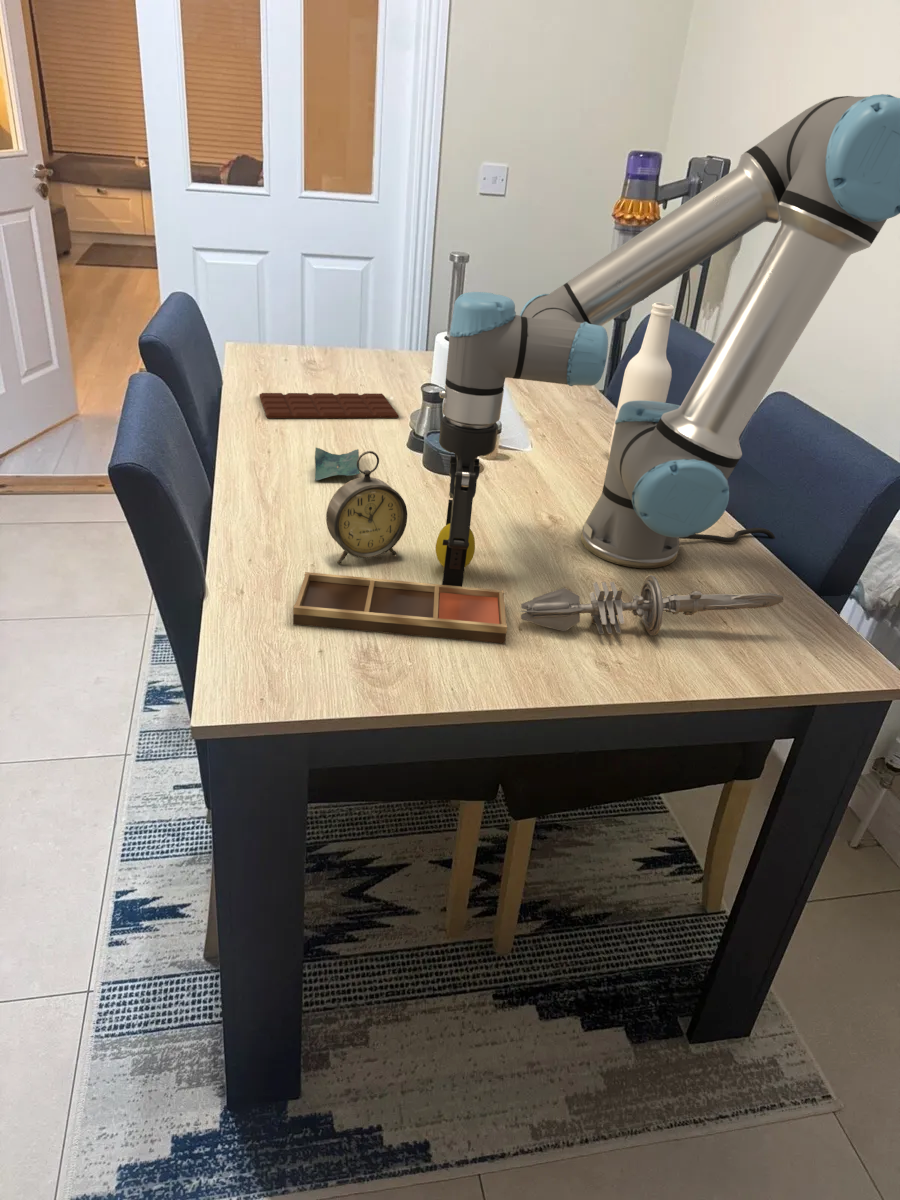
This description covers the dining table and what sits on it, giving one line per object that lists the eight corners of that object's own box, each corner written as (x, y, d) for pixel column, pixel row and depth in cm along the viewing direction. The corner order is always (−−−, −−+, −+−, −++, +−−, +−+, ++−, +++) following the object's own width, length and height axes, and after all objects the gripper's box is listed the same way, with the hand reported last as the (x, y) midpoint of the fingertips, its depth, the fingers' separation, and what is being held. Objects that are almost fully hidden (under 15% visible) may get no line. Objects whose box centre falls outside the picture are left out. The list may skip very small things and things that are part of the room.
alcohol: (603, 461, 167) (635, 304, 152) (612, 448, 174) (644, 296, 159) (647, 471, 164) (684, 312, 149) (654, 457, 172) (691, 305, 156)
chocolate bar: (383, 397, 188) (383, 392, 187) (398, 417, 177) (398, 413, 176) (259, 396, 179) (259, 392, 179) (267, 418, 168) (267, 413, 168)
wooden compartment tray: (501, 606, 114) (504, 590, 113) (504, 643, 106) (507, 627, 105) (304, 588, 113) (305, 571, 112) (293, 624, 105) (293, 607, 104)
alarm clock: (334, 570, 118) (338, 461, 110) (321, 553, 122) (323, 447, 114) (405, 560, 123) (414, 454, 115) (390, 543, 127) (397, 440, 119)
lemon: (467, 584, 119) (474, 533, 115) (429, 577, 119) (434, 526, 115) (474, 566, 123) (481, 517, 119) (437, 559, 124) (443, 510, 120)
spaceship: (803, 605, 106) (783, 556, 111) (528, 618, 104) (520, 568, 109) (781, 640, 113) (764, 593, 118) (522, 654, 110) (514, 605, 115)
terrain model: (360, 483, 145) (360, 473, 144) (314, 483, 144) (313, 472, 143) (358, 456, 156) (358, 446, 155) (315, 455, 155) (315, 446, 154)
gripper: (443, 388, 121) (429, 522, 131) (439, 450, 99) (422, 604, 110) (495, 393, 121) (477, 527, 132) (502, 456, 99) (480, 610, 110)
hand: (452, 562), depth 121 cm, fingers open, 13 cm apart
